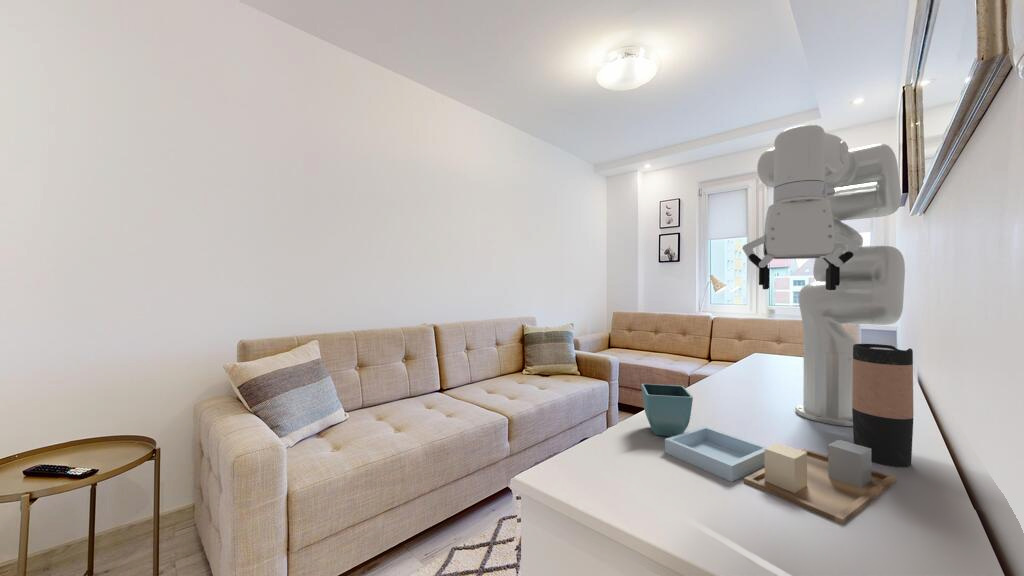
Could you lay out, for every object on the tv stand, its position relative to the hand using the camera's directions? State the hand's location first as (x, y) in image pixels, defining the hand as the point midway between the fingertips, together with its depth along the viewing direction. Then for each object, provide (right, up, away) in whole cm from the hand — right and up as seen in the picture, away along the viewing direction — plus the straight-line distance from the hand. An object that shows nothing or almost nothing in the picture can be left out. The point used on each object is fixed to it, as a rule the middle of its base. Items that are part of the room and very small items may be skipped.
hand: (797, 289), depth 69 cm
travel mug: (+12, -30, -3) cm, 33 cm away
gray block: (0, -30, -10) cm, 31 cm away
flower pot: (-20, -30, +10) cm, 38 cm away
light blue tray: (-16, -30, -3) cm, 34 cm away
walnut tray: (-5, -30, -11) cm, 32 cm away
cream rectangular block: (-10, -30, -11) cm, 33 cm away
